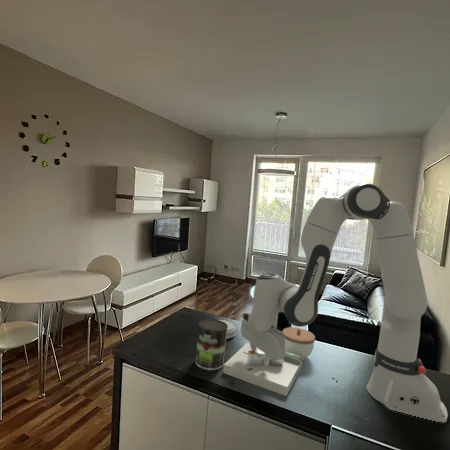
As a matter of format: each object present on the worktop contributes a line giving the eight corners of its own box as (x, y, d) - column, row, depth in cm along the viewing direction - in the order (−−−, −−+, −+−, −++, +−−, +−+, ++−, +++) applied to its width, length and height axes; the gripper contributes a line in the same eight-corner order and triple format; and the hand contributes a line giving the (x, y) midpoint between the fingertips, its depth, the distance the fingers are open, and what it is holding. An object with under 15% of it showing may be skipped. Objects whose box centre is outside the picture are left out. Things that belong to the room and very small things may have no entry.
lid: (227, 343, 129) (228, 332, 129) (200, 335, 135) (202, 324, 134) (239, 333, 141) (240, 322, 140) (214, 325, 146) (215, 315, 146)
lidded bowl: (282, 345, 132) (285, 320, 131) (313, 353, 128) (316, 327, 127) (277, 359, 120) (280, 331, 119) (311, 367, 116) (314, 339, 115)
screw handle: (278, 356, 115) (279, 345, 115) (286, 365, 109) (287, 354, 109) (245, 359, 111) (246, 348, 111) (251, 368, 105) (253, 356, 105)
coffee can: (217, 373, 106) (221, 333, 105) (190, 365, 110) (193, 326, 109) (227, 360, 116) (231, 322, 115) (202, 352, 119) (205, 316, 118)
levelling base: (301, 368, 115) (303, 353, 115) (286, 396, 97) (288, 379, 97) (246, 350, 125) (247, 337, 125) (223, 372, 107) (224, 357, 107)
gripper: (292, 332, 100) (287, 373, 101) (253, 309, 117) (249, 345, 118) (277, 335, 96) (272, 378, 98) (239, 311, 114) (235, 348, 115)
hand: (259, 360), depth 108 cm, fingers open, 5 cm apart
